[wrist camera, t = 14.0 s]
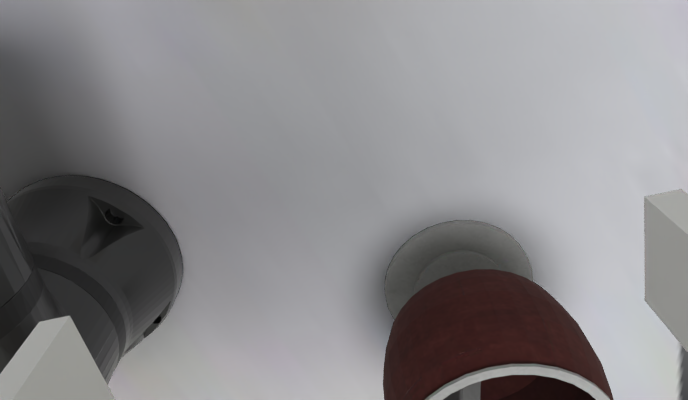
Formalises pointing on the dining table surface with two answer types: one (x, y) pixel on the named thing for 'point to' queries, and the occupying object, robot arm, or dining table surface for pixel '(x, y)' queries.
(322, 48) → the dining table surface
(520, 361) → the mate gourd
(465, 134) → the dining table surface
